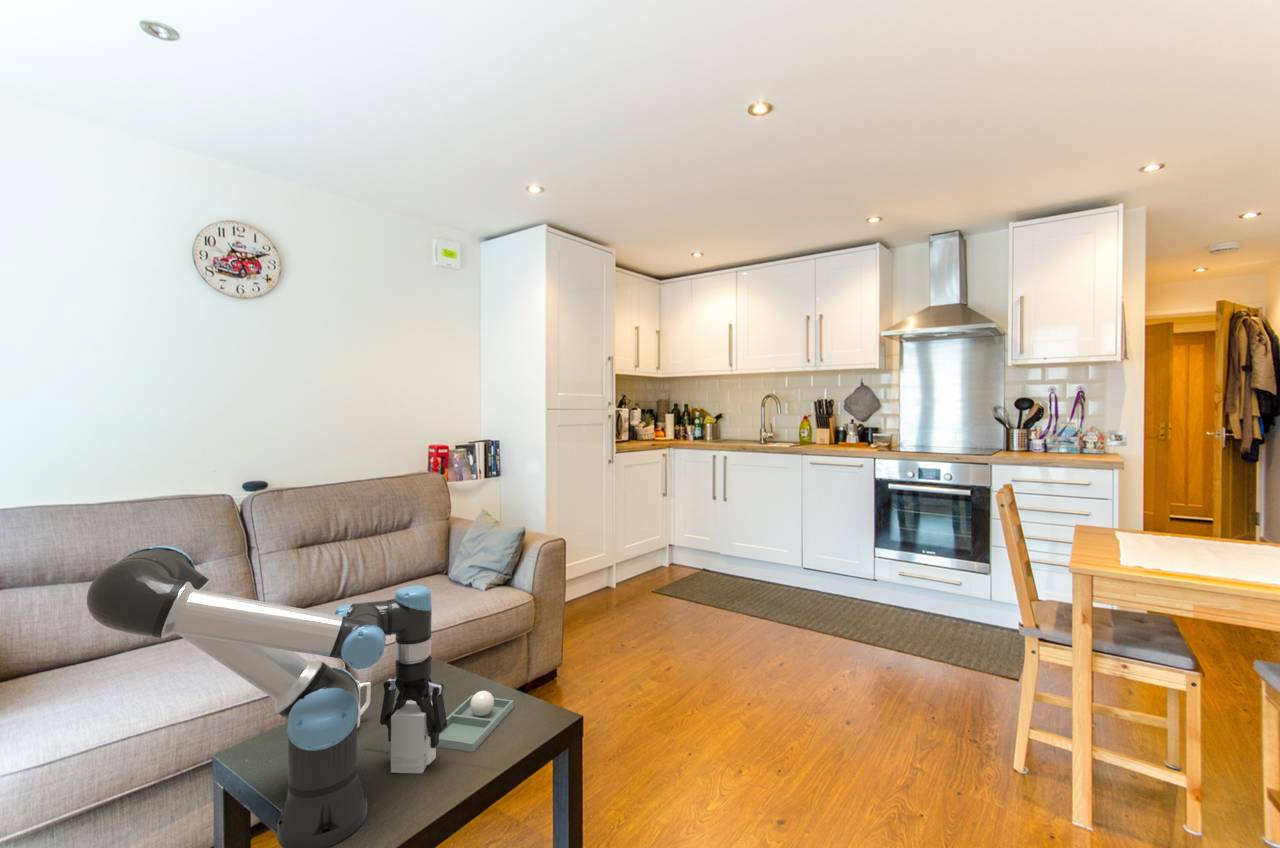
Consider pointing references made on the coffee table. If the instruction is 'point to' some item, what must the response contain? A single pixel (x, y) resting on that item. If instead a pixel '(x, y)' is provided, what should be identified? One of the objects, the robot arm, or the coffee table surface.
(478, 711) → the white ball
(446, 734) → the holder
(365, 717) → the coffee table surface
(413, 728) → the supplement box
